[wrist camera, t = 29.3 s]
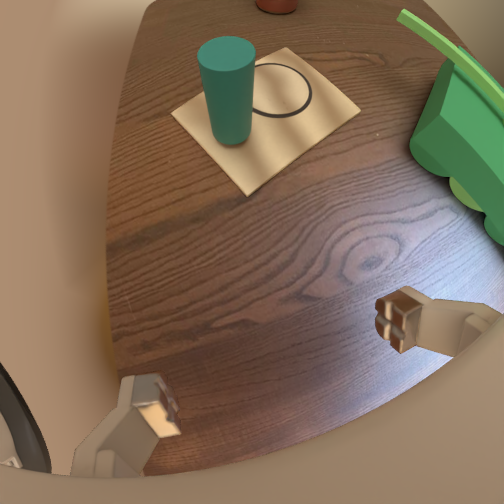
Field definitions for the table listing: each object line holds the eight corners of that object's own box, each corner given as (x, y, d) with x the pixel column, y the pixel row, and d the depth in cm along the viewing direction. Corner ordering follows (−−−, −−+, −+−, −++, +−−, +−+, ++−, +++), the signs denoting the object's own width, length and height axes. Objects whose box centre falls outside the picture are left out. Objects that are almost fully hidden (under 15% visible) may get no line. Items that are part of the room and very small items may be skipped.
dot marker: (229, 156, 24) (220, 79, 13) (205, 132, 25) (186, 52, 14) (259, 135, 25) (267, 54, 14) (234, 112, 25) (231, 29, 14)
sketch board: (247, 197, 25) (247, 195, 24) (172, 116, 25) (170, 112, 25) (359, 113, 26) (362, 109, 25) (285, 50, 27) (285, 45, 26)
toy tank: (419, -10, 15) (581, 179, 14) (386, 46, 28) (533, 196, 27) (380, 30, 14) (580, 283, 13) (337, 109, 26) (517, 286, 25)
